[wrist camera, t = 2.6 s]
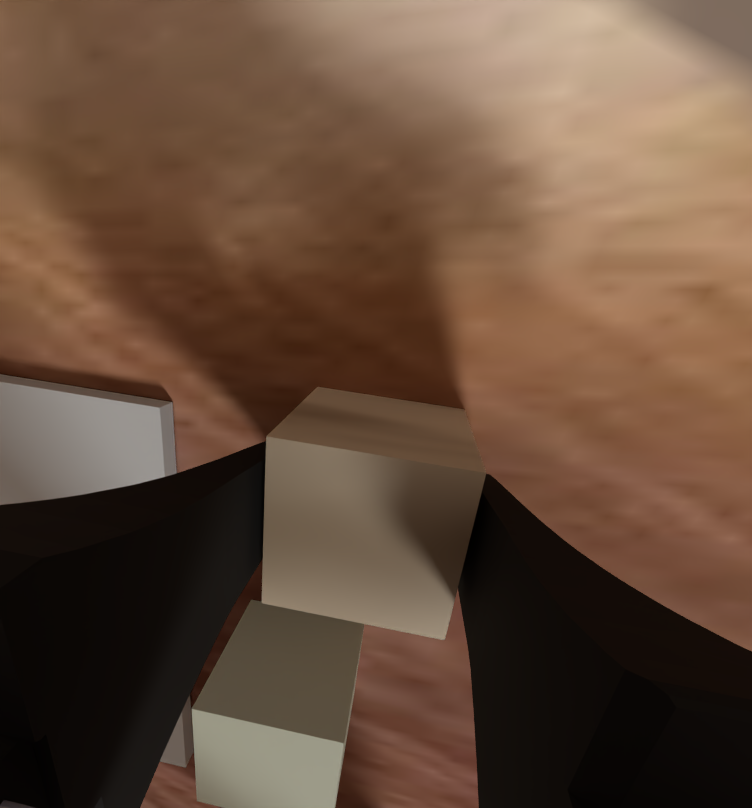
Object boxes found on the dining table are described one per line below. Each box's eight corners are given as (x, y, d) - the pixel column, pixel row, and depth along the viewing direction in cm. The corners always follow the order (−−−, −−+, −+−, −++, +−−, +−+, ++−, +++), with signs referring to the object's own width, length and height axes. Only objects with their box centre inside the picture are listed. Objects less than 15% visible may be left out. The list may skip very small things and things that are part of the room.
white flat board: (193, 752, 18) (184, 770, 17) (-31, 699, 19) (-48, 714, 18) (172, 401, 12) (157, 408, 11) (-152, 349, 13) (-183, 353, 12)
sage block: (353, 699, 15) (330, 834, 12) (250, 677, 16) (196, 801, 12) (365, 619, 14) (344, 743, 10) (252, 597, 14) (191, 708, 11)
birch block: (437, 531, 12) (444, 639, 9) (309, 508, 13) (261, 603, 9) (464, 408, 11) (486, 473, 7) (318, 385, 11) (266, 436, 8)
